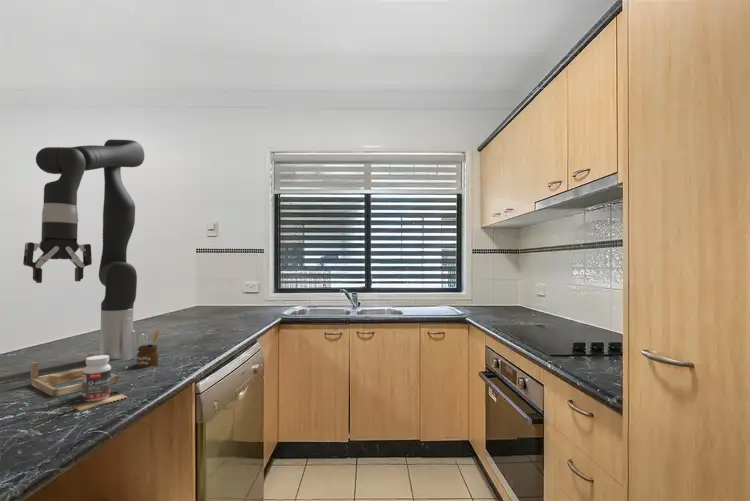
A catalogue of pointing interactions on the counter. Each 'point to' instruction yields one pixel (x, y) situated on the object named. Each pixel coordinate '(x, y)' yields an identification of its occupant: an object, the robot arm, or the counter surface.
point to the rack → (52, 391)
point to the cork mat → (86, 405)
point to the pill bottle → (96, 378)
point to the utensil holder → (148, 354)
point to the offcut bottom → (60, 383)
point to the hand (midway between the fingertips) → (58, 282)
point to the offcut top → (66, 376)
